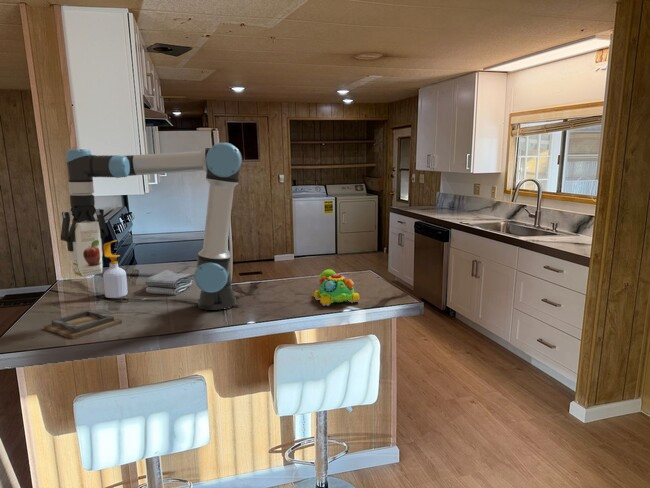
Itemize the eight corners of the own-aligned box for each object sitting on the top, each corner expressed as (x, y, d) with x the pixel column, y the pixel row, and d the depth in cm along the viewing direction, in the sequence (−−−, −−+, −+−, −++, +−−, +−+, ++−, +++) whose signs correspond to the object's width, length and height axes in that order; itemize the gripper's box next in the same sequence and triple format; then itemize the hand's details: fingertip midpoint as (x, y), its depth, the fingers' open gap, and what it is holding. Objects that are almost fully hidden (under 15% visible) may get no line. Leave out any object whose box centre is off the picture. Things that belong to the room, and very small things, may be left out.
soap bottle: (119, 299, 192) (114, 242, 188) (100, 297, 194) (95, 241, 190) (132, 293, 201) (127, 238, 197) (114, 291, 203) (109, 238, 199)
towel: (144, 295, 199) (143, 277, 198) (166, 284, 217) (165, 268, 216) (176, 296, 197) (175, 279, 195) (195, 285, 215) (194, 269, 213)
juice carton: (70, 274, 161) (66, 221, 157) (94, 270, 167) (90, 219, 164) (81, 277, 156) (77, 223, 153) (105, 273, 163) (101, 221, 160)
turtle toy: (342, 290, 205) (342, 265, 203) (363, 305, 184) (364, 277, 181) (306, 294, 199) (306, 268, 197) (324, 310, 178) (324, 281, 176)
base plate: (122, 322, 164) (121, 315, 163) (73, 339, 149) (72, 331, 148) (93, 314, 173) (92, 307, 173) (44, 328, 158) (43, 321, 158)
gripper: (104, 192, 168) (109, 252, 172) (43, 195, 150) (50, 261, 154) (116, 193, 164) (120, 254, 168) (55, 196, 146) (61, 264, 150)
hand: (87, 257), depth 161 cm, fingers closed on juice carton, 9 cm apart
